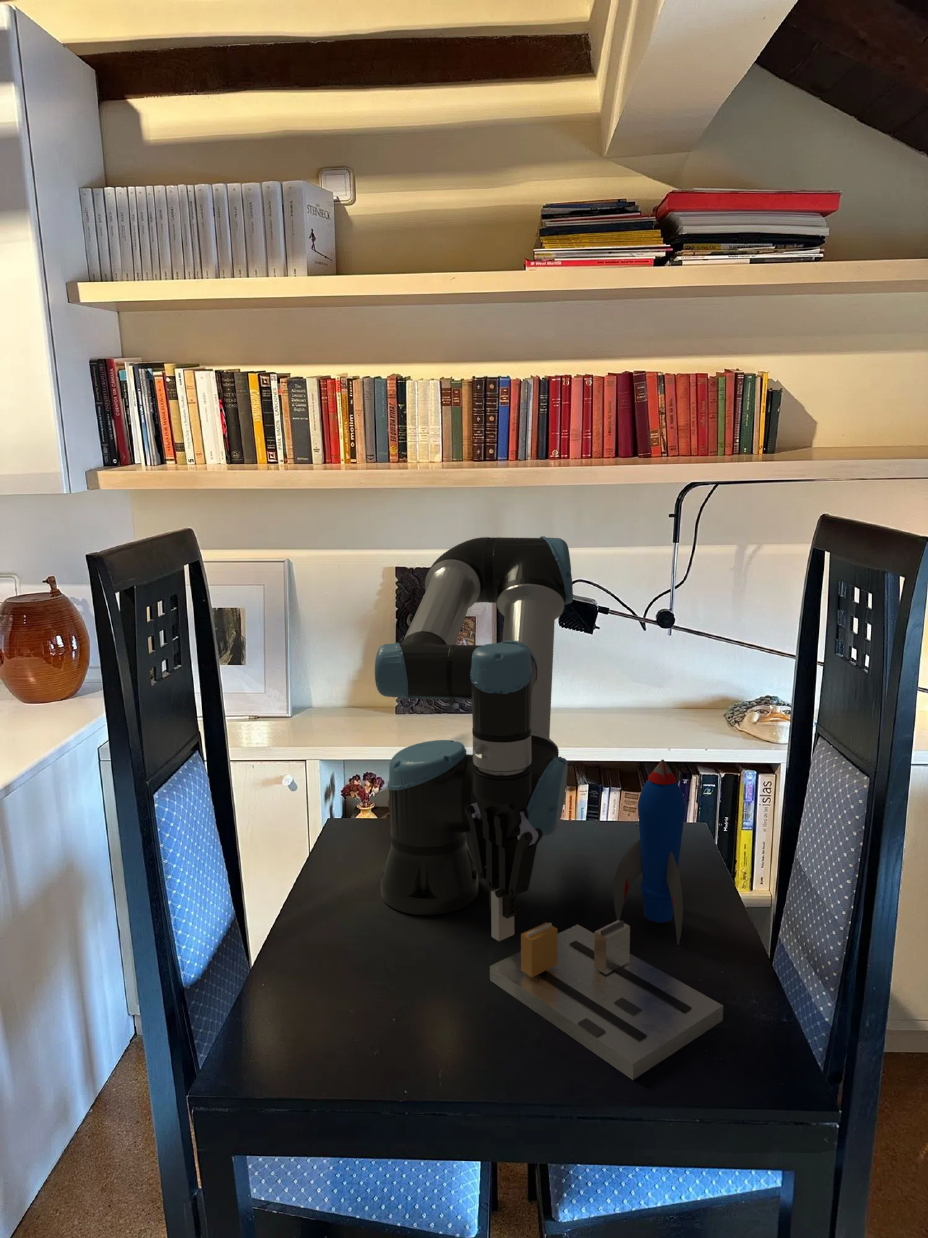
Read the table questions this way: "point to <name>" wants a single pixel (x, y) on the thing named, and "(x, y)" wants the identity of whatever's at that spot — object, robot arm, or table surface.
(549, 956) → the fader
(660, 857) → the toy rocket
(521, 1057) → the table surface
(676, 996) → the console
